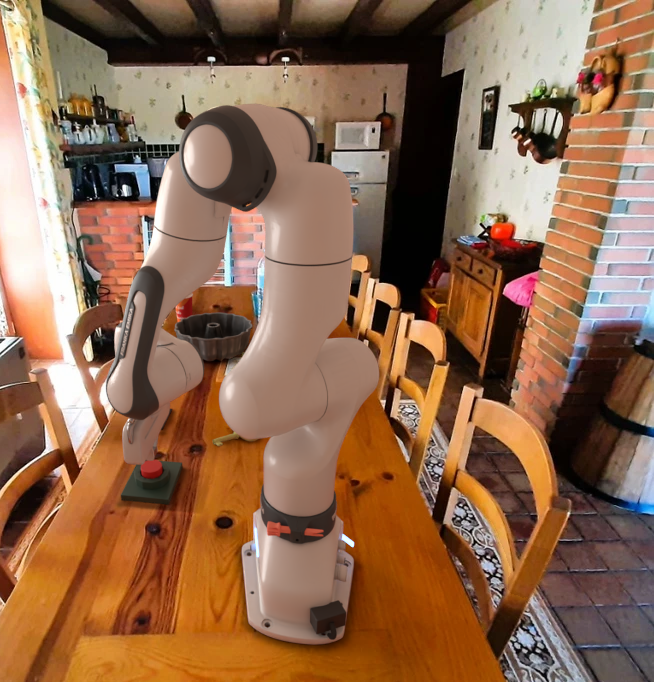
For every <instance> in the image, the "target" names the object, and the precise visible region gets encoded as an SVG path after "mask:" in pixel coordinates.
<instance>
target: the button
mask: <svg viewBox="0 0 654 682" xmlns="http://www.w3.org/2000/svg"><path fill="white" fill-rule="evenodd" d="M160 461H161V460H159V459H154V460H153V461H150V460H148V461H145V462H144V464H143V465H141V473H142V476H143V477H144V478H147V479H153V478H157V477H159V476H160V475H161V474H162V472H163V471H162V464H161V462H160Z"/></svg>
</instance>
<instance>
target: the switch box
mask: <svg viewBox="0 0 654 682" xmlns="http://www.w3.org/2000/svg"><path fill="white" fill-rule="evenodd" d="M145 461H148V460H145ZM159 461H160V462H161V464H162V471H163V472H162V474H161V475H160V476H159V477H157V478H153V479H147V478H144V477H143V476H142V473H141V465H134V468H133V470H132V471H131V474H130V476H129V477H128V480H127V482H126V484H125V485H124V487H123V490H122V491H121V493H120V499H121V500H120V501H124V502H134V503H145V504H154V505H155V504H156V505H166V506H169V505H170V503H171V500H172V498H173V495H174V492H175V489H176V487H177V485H178V481H179V478H180V476H181V473H182V471H183V467H184V466H183V462H182V461H181V462H180V461H168V460H167V461H166V460H159Z"/></svg>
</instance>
